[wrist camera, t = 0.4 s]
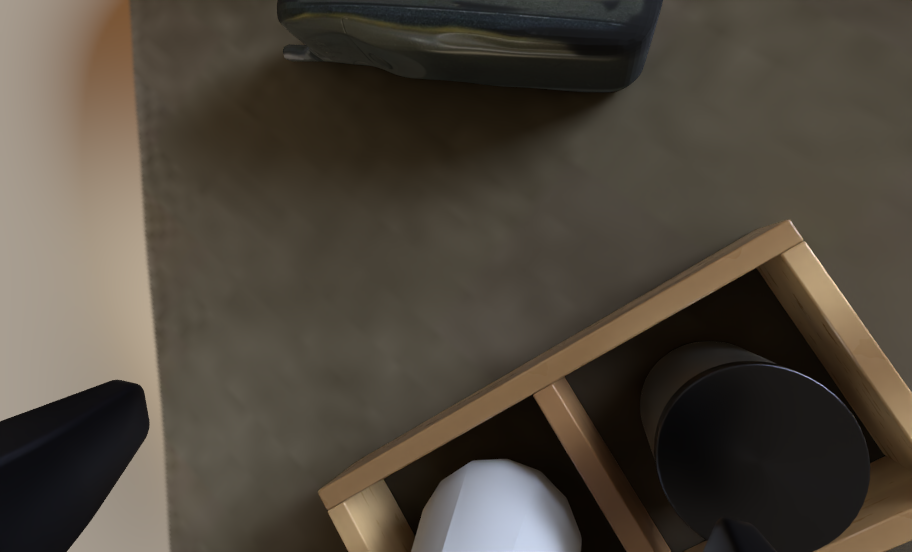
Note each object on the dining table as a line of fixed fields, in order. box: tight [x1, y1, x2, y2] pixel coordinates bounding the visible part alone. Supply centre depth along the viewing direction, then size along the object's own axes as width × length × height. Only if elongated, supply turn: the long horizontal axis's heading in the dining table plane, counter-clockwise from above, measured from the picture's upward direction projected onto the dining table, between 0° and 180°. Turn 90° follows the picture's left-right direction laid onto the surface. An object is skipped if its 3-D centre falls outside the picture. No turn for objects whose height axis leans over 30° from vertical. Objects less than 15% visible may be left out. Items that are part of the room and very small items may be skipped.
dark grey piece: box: [277, 0, 663, 92], centre depth 21 cm, size 5×3×15 cm
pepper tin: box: [640, 341, 870, 552], centre depth 18 cm, size 5×5×6 cm
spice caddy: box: [318, 219, 912, 552], centre depth 20 cm, size 10×18×4 cm, turn 122°
